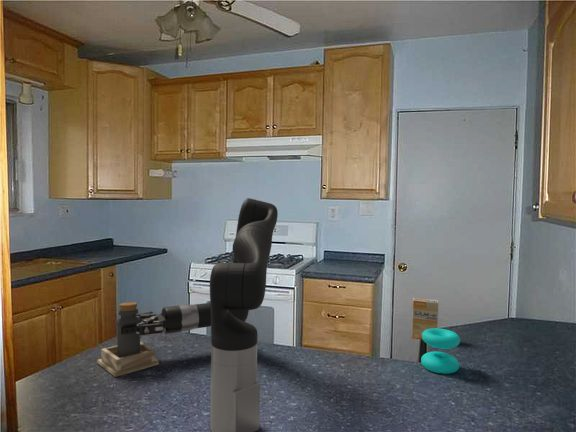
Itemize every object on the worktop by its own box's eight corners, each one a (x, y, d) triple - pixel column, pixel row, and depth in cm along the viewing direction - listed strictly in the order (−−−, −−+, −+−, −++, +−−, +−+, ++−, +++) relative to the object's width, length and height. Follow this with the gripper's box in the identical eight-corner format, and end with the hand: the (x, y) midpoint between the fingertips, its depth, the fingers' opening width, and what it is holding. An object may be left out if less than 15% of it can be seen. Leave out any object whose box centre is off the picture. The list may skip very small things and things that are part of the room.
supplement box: (411, 339, 140) (412, 300, 139) (411, 334, 144) (412, 297, 144) (437, 341, 137) (438, 302, 137) (436, 337, 142) (437, 299, 141)
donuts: (414, 329, 118) (439, 325, 123) (413, 364, 118) (438, 358, 123) (442, 340, 109) (468, 335, 114) (440, 378, 110) (467, 371, 114)
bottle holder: (158, 364, 115) (158, 350, 115) (115, 377, 107) (115, 361, 107) (139, 352, 124) (139, 339, 124) (97, 363, 115) (97, 348, 115)
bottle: (117, 357, 116) (116, 303, 116) (139, 354, 118) (138, 300, 119) (118, 363, 111) (117, 306, 111) (141, 359, 113) (140, 304, 114)
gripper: (173, 300, 128) (114, 306, 120) (187, 311, 115) (122, 320, 107) (173, 324, 128) (115, 332, 120) (187, 338, 116) (122, 348, 108)
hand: (118, 326), depth 114 cm, fingers open, 6 cm apart
